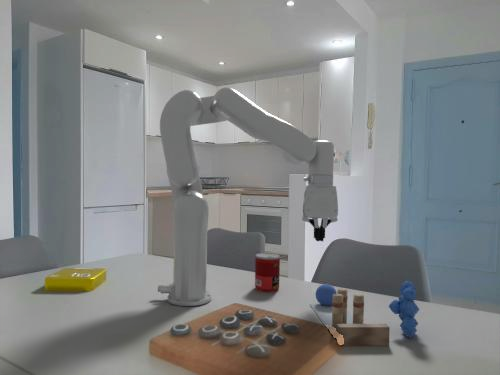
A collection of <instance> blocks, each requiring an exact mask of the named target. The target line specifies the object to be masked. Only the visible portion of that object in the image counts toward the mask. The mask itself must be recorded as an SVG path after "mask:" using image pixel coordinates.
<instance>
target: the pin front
mask: <svg viewBox="0 0 500 375" xmlns="http://www.w3.org/2000/svg"><path fill="white" fill-rule="evenodd" d="M336 292H337V294H341V295H343V324H347V311H348V289H346V288H338V289H337V290H336Z"/></svg>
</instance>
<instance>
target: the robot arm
mask: <svg viewBox="0 0 500 375" xmlns="http://www.w3.org/2000/svg"><path fill="white" fill-rule="evenodd" d="M161 111H162V112H161V115H160V117H159V118H160V119H159V120H160V121H159V132H160V134H159V135H160V139H161V145H162V150H163V155H164V160H165V164H166V174H167V178H168V181H169V182H168V183H169V187H170V191H171V195H172V199H173V203H174V209H173V210H174V211H173V221H174V222H173V228H174V230H173V275H172V276H173V280H172V283H170V284H168V285H164V284H158V286H157V292H158V293H160V294H168V295H167V302H168V303H170V304H171V305H175V306H179V307H181V306H182V307H194V306H200V305H205V304H208V303H209V302H211V300H212V295H211V293H209V292H208V291H207V273H208V272H207V268H208V267H207V265H208V264H207V263H208V262H207V261H208V259H207V258H208V229H209V228H208V227H209V226H208V225H209V204H208V201H207V199H206V196H205V195H204V190H203V187H202V181H201V177H200V167H199V164H198V161H197V158H196V154H195V149H194V144H193V138H192V134H191V127H193V126H201V125H208V124H217V123H222V122H226V121H228V122H230V123H231V124H233V125H234V126H235V127H236V128H238V129H239V130H241V131H243V132H244V133H245V134H247V135H249V136H250V137H252V138H254V139H256V140H259V141H264V142H268V143H269V144H272V145H274V146H276V147H278V148H279V149H281V150H282V156H283V159H284V161H285V162H287V163H289V164H290V165H301V164H302V165H304V164H308V174H307V176H305V177H303V182H306V183H307V185H305V189H304V195H303V205H302V217H301V218H302V219H301V220H302V221H304V222H306V223H310V225H311V226H312V227H313V239H315V241H317V242H324V239H325V238H326V228H327V227H328V226H329V225H330V224H331V223H335V222H337V221H338V215H339V205H338V204H339V203H338V202H339V201H338V191H337V186H336V185H334V162H335V161H334V158H335V157H334V156H335V155H334V154H335V146H334V142H332V141H329V140H314V141H313V139H312V138H311V137H310V136H308V135H307V134H305V133H304V132H303V131H301V130H300V129H298V128H297V127H296V126H295V125H293V124H291V123H290V122H289V123H288V122H287V121H285V120H283V119H281V118H278V117H277V116H275V115H272V114H271V113H268V112H267V111H266V110H264V109H262V108H261V107H259V105H256V103H254V102H253V101H251V100H250V99H248V98H247V97H246V96H244V95H243V94H241V93H240V92H239V91H237V90H236V89H234V88H232V87H229V86H228V87H227V86H226V87H221V88H220V89H219V90H218V91H216V93H215V94H214V95H210V96H204V97H200V95H199V94H198V93H197V92H195V91H193V90H190V89H184V90H180V91H178V92H177V93H175V94H174V95H172V97H171V98H170V99H169V100H168V101H167V102H166V104H165V105H164V106H163V109H162V110H161ZM319 219H321V221H320V225H319Z"/></svg>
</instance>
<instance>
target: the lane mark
mask: <svg viewBox="0 0 500 375" xmlns="http://www.w3.org/2000/svg"><path fill="white" fill-rule="evenodd" d="M309 305H310V307H311V309H312V310H313V312H314V313H315V314H316V315H317V317H318V318H319V320H320V321H321V323H322V324H323V325H324V326H325V325H328V326H331V327H332V305H330V306H324V305H321V304H320V303H317V304H316V303H315V304H314V303H310V304H309ZM347 324H353V314H351V313H350V312H349V311H348V310H347Z"/></svg>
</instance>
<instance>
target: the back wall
mask: <svg viewBox="0 0 500 375" xmlns="http://www.w3.org/2000/svg"><path fill="white" fill-rule="evenodd" d="M336 331H337V332H338V333H339V334H341V335H343V338H344V344H343V346H342V347H365V346H366V347H370V346H371V347H374V346H375V347H376V346H377V347H380V346H381V347H384V346H385V347H386V346H387V347H388V346H390V326H389V325H388V324H386V323H363V324H337V328H336Z"/></svg>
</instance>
